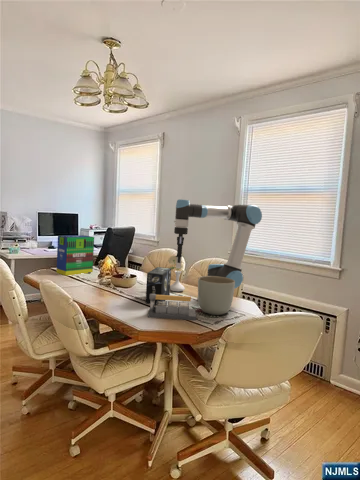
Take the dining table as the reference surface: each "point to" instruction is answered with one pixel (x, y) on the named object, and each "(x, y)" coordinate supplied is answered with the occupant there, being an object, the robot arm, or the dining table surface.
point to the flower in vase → (177, 285)
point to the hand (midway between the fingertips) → (178, 268)
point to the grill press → (171, 310)
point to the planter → (215, 294)
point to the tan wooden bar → (169, 297)
